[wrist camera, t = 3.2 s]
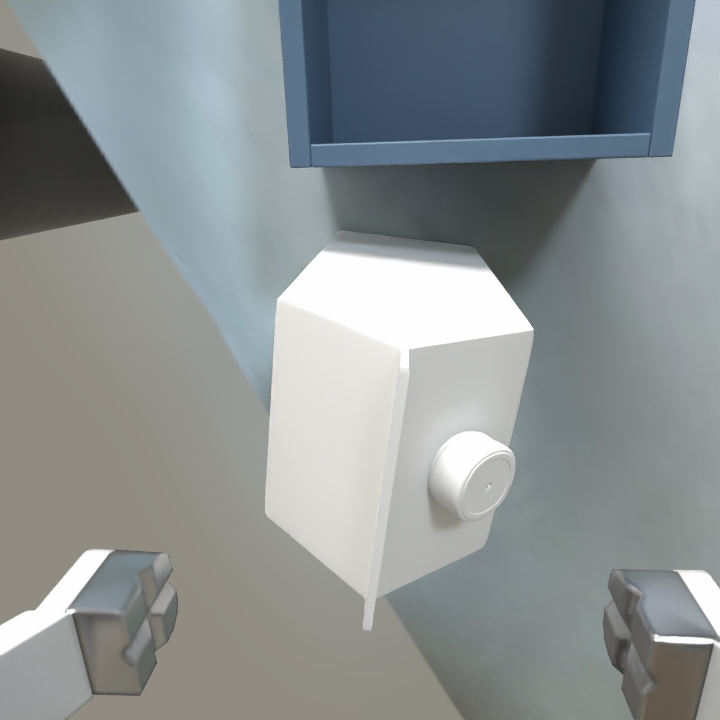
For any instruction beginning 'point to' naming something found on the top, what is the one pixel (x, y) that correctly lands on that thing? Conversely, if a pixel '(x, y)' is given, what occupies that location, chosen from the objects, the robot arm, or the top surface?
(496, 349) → the milk carton
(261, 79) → the top surface
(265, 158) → the top surface
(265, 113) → the top surface
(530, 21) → the tub
